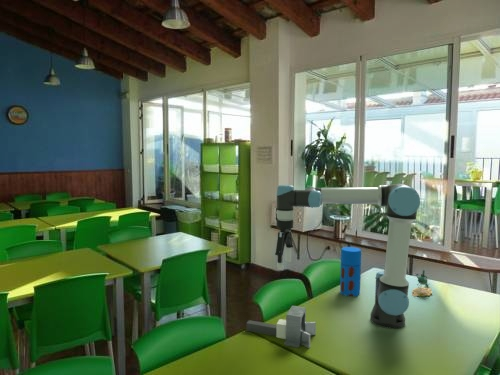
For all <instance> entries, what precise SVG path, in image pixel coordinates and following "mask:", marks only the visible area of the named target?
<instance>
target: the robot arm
mask: <svg viewBox="0 0 500 375" xmlns="http://www.w3.org/2000/svg"><path fill="white" fill-rule="evenodd" d="M276 188H277V189H276V211H275V214H276V228H277V229H280V231H279V232H277V240H276V247H275V248H276V249H275V253H274V255H275V256H276V270H278V271H279V270H280V271H284V261H285V262H289V263H290V262H292V248H294V244H293V235H292V229H293V228H294V220H293V219H294V207H296V208H298V207H299V208H300V207H301V208H312V209H313V208H320V207H321V205H322V204H331V205H334V204H336V205H337V204H339V205H340V204H341V205H346V204H347V205H349V204H350V205H354V204H355V205H378V206H379V207H385V208H386V212H385V213H386V214H385V217H387V219H388V220H389V223H388V233H387V240H386V250H385V251H386V252H385V259H384V260H385V261H384V268H383V269H384V271H383V270H381V271H378V272H376V274H375V277H374V278H375V294H374V295H375V296H374V305H373V307H372V310H371V312H370V321H371V322H372V323H373V324H374V325H376V326H379V327H381V328H385V329H386V328H387V329H401V328H403V327H405V326H406V317H405V314H404V313H406V311H408V309H409V306H410V305H409V304H410V299H409V296H408V295H409V286H410V282H409V280H407V279H406V276H407V268H408V267H407V266H408V257H409V249H410V242H411V239H410V238H411V231H412V223H413V222H415V221H417V216H418V215H417V213H418V210H419V208H420V205H421V197H420V195H419V193H418V191H417V189H415V188H413V187H412V186H410V185H407V184H406V183H394V184H380V185H378V186H377V187H315V186H309V187H306V188H305V189H295V186H294V185H291V184H280V185H278V186H277V187H276ZM284 256H285V257H284Z"/></svg>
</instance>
